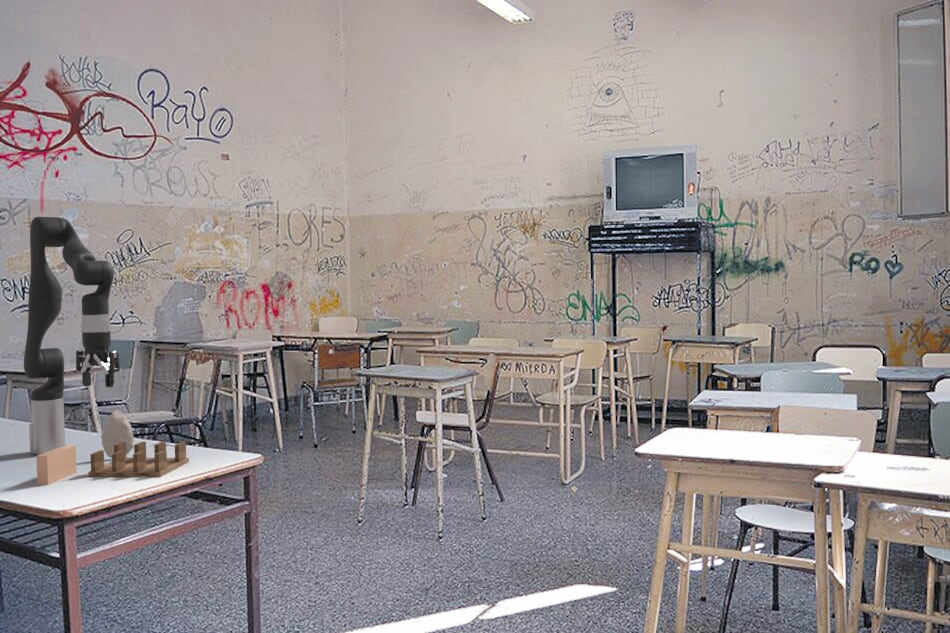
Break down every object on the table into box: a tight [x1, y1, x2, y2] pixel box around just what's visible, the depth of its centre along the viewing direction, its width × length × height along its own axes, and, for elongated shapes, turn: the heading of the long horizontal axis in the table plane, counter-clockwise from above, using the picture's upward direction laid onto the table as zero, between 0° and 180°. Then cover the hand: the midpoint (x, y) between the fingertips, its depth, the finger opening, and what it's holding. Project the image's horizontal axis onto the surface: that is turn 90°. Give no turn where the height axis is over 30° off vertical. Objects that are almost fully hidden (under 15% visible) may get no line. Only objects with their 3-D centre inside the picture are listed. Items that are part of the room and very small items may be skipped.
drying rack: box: [87, 441, 190, 478], centre depth 250 cm, size 21×19×6 cm
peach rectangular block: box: [35, 444, 78, 486], centre depth 239 cm, size 3×14×8 cm, turn 175°
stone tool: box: [100, 409, 135, 459], centre depth 265 cm, size 9×3×15 cm, turn 123°
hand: (98, 386), depth 248 cm, fingers open, 8 cm apart
